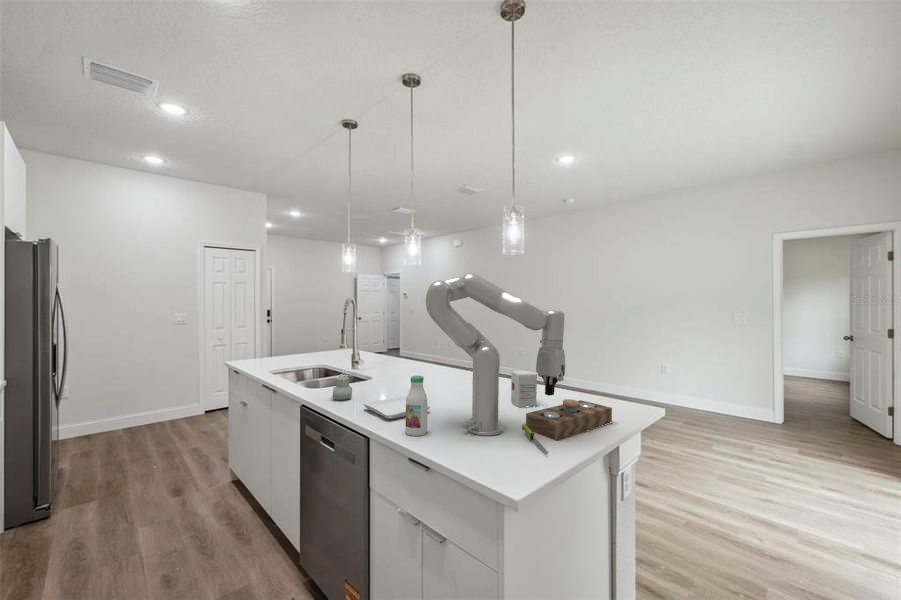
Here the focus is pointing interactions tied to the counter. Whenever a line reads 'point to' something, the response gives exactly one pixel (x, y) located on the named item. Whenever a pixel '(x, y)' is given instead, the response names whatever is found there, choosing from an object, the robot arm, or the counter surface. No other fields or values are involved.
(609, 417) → the brown wooden rectangular block
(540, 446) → the kitchen knife
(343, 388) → the air freshener
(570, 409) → the knob middle
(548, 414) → the knob near
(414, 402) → the milk bottle
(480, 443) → the counter surface
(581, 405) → the knob far
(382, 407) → the salad plate
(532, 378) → the supplement box
